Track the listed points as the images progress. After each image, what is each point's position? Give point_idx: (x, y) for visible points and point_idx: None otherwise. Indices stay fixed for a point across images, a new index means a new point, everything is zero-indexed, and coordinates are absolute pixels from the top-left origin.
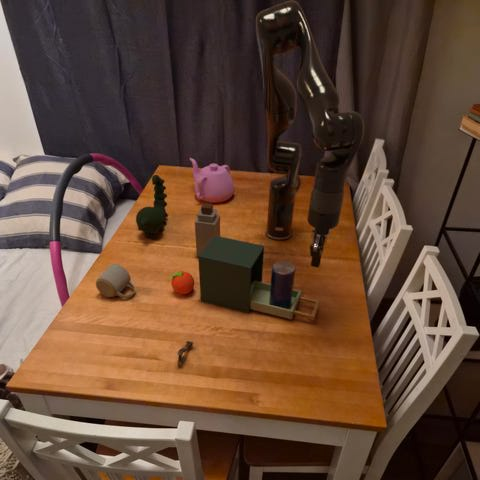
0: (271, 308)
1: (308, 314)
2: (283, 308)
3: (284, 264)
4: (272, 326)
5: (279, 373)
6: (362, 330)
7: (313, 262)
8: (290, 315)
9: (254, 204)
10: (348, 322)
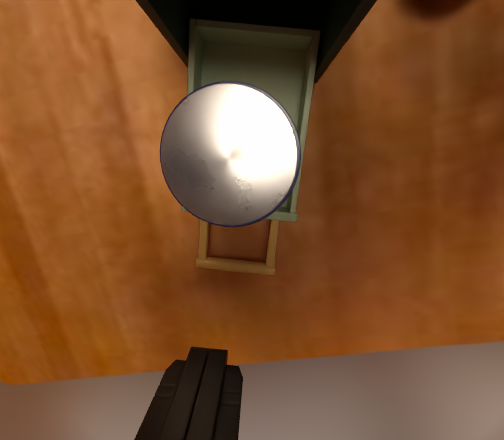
0: None
1: (202, 252)
2: None
3: (260, 156)
4: (159, 156)
5: (14, 205)
6: None
7: (157, 393)
8: None
9: None
10: (238, 332)
